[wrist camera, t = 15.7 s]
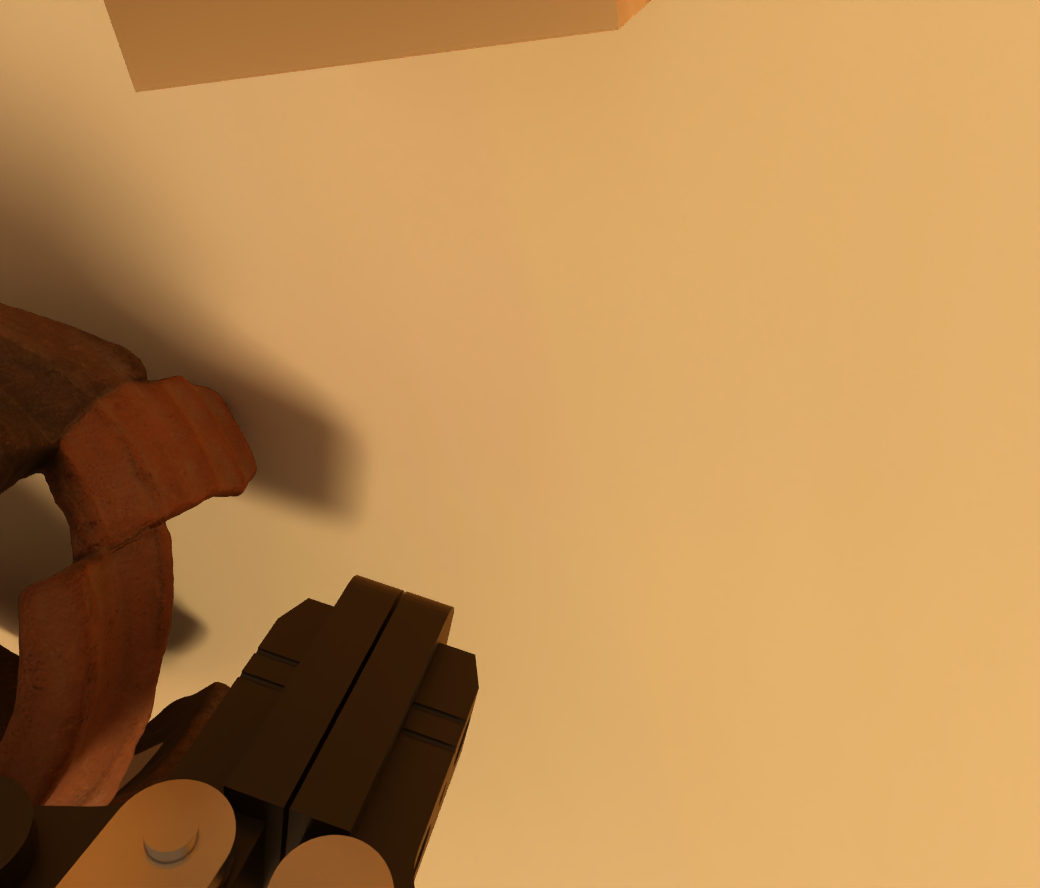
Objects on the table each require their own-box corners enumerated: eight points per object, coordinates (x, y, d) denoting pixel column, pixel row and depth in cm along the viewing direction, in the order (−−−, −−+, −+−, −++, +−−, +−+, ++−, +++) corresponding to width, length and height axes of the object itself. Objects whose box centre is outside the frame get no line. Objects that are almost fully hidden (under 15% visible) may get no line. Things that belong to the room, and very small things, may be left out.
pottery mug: (-192, 467, 18) (-803, 547, 10) (174, 212, 17) (-146, 67, 9) (141, 924, 19) (-165, 1358, 10) (502, 693, 18) (478, 957, 10)
